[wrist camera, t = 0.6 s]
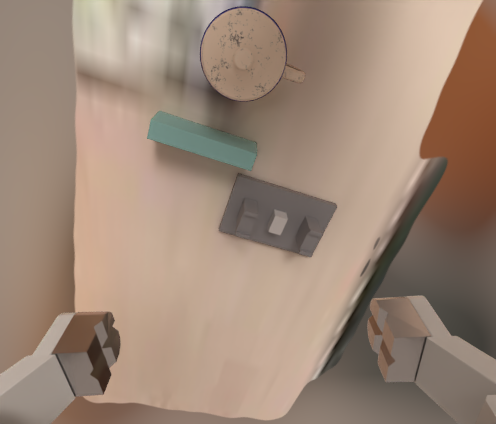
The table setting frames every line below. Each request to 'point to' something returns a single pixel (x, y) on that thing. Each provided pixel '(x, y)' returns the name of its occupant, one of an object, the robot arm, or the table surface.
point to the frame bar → (202, 140)
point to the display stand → (276, 215)
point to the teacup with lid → (245, 54)
